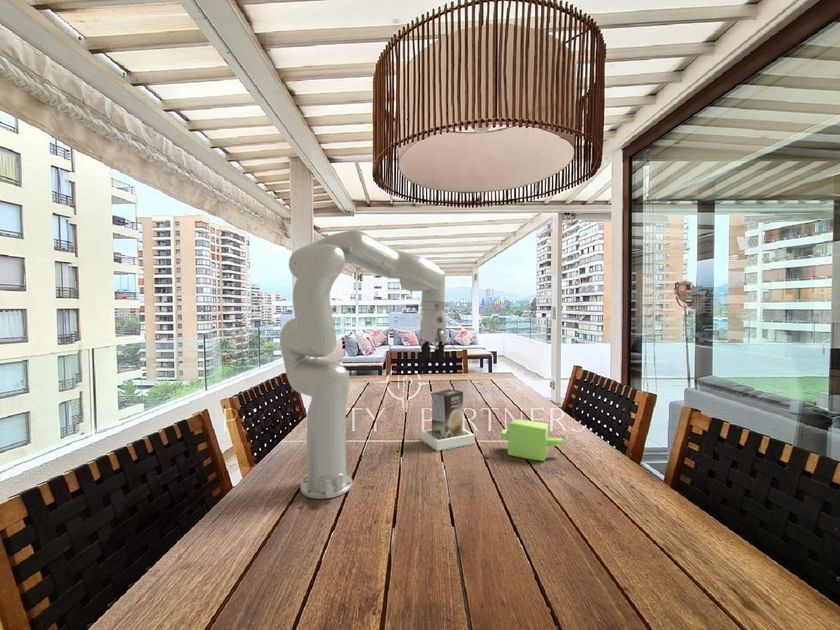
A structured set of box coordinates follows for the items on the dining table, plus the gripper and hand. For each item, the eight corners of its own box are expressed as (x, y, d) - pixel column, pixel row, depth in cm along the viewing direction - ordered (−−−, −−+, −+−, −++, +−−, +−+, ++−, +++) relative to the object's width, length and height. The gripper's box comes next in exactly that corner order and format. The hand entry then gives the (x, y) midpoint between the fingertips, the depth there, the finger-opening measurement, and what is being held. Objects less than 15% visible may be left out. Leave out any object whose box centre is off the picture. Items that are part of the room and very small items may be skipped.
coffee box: (446, 446, 122) (446, 396, 121) (431, 441, 126) (431, 393, 125) (463, 438, 129) (463, 391, 128) (448, 434, 133) (448, 388, 132)
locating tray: (474, 444, 125) (474, 434, 125) (437, 451, 119) (437, 441, 119) (457, 434, 135) (457, 425, 135) (421, 440, 129) (421, 430, 129)
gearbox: (563, 454, 119) (564, 423, 119) (560, 465, 110) (561, 431, 110) (504, 444, 126) (505, 415, 126) (498, 453, 117) (499, 422, 117)
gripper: (456, 307, 120) (455, 362, 120) (431, 307, 135) (430, 356, 136) (434, 307, 117) (433, 363, 117) (412, 307, 132) (411, 357, 132)
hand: (432, 359), depth 126 cm, fingers open, 9 cm apart
